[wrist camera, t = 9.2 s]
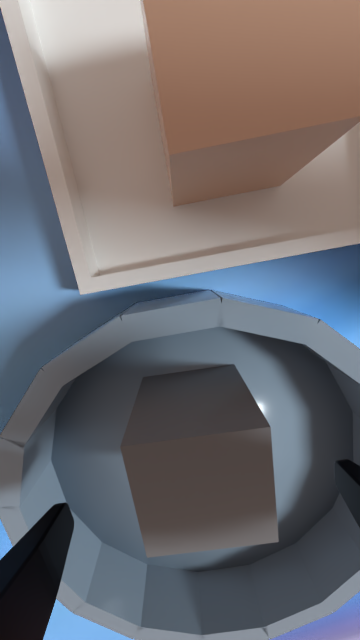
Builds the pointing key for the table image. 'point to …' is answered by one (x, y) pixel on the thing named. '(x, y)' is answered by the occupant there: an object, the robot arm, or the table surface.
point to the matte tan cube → (250, 88)
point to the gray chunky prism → (200, 463)
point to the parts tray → (151, 159)
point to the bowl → (113, 486)
